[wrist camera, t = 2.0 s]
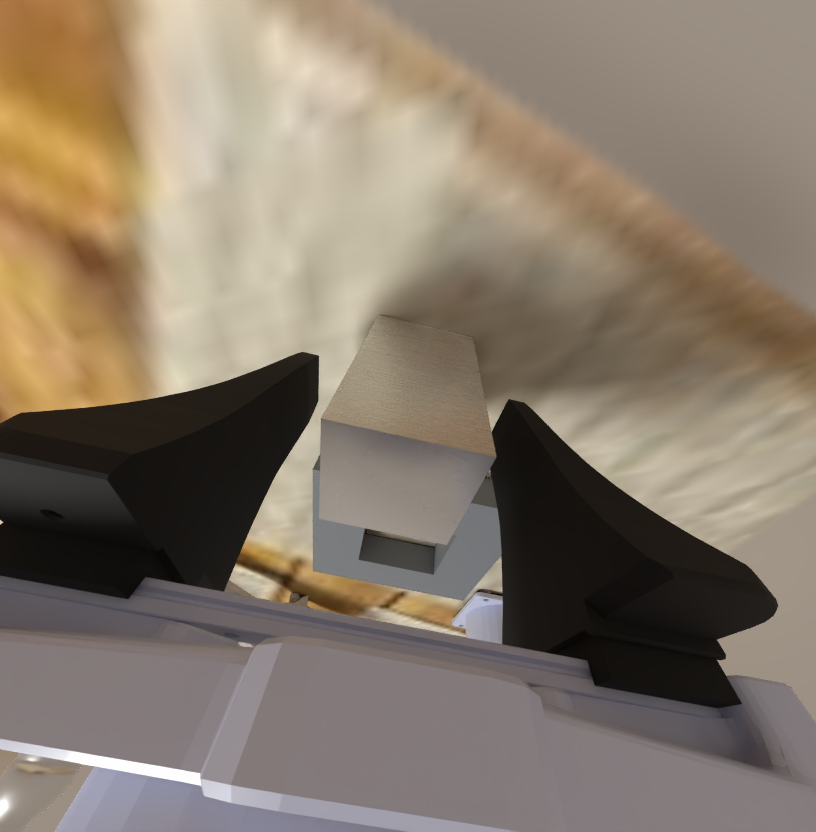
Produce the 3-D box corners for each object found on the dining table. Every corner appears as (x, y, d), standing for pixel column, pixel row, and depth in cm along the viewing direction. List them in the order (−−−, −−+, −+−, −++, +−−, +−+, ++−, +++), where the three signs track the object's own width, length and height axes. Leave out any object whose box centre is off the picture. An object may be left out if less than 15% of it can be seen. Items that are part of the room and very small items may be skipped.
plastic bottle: (152, 631, 46) (1, 858, 31) (113, 615, 43) (-81, 861, 27) (179, 630, 44) (32, 872, 29) (141, 613, 41) (-52, 878, 25)
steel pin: (472, 336, 12) (496, 456, 7) (445, 411, 14) (446, 545, 9) (378, 314, 12) (320, 418, 6) (367, 393, 14) (318, 518, 9)
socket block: (525, 486, 17) (533, 516, 16) (462, 574, 24) (463, 600, 23) (325, 443, 17) (312, 469, 15) (321, 546, 24) (313, 571, 22)
